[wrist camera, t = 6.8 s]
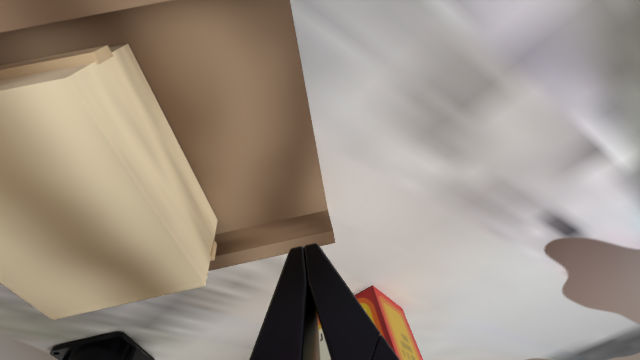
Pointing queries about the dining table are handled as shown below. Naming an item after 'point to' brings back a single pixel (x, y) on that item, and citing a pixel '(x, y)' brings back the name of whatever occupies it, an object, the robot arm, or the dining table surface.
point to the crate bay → (209, 103)
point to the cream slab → (95, 187)
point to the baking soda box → (383, 325)
